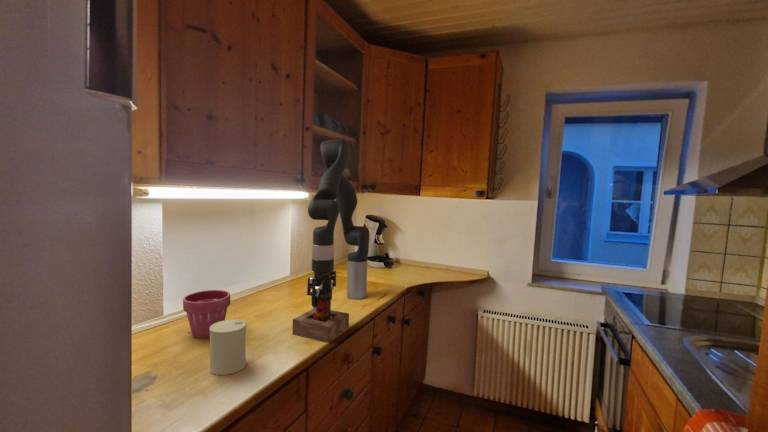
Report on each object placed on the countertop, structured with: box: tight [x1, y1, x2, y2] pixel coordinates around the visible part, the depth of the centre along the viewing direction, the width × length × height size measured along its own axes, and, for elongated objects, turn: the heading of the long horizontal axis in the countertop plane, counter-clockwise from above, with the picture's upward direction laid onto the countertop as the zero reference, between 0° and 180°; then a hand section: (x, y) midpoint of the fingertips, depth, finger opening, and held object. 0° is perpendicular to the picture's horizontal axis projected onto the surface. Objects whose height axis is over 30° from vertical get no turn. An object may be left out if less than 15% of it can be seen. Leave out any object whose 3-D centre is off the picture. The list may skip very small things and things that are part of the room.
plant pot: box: [182, 289, 231, 339], centre depth 114 cm, size 14×14×13 cm
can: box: [208, 319, 247, 376], centre depth 93 cm, size 9×9×12 cm
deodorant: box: [312, 276, 332, 322], centre depth 119 cm, size 6×6×15 cm
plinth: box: [292, 308, 350, 343], centre depth 119 cm, size 14×14×5 cm
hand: (322, 303), depth 119 cm, fingers open, 8 cm apart
